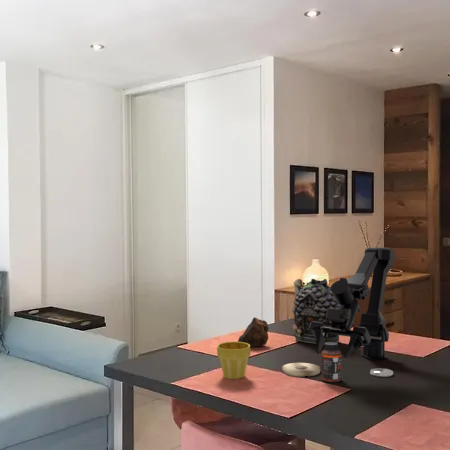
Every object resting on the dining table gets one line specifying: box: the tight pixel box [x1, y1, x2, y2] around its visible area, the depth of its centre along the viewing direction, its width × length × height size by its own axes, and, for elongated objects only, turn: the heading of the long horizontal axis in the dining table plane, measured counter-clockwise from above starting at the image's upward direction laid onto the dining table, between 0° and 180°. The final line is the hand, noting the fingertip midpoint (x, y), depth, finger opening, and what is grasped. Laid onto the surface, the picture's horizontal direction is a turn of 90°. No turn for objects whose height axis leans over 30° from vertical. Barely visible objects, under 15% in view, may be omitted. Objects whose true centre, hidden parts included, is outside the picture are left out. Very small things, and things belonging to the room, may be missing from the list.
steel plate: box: [369, 367, 394, 378], centre depth 182 cm, size 7×7×1 cm
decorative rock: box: [237, 317, 269, 348], centre depth 220 cm, size 12×6×11 cm, turn 103°
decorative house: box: [291, 278, 340, 346], centre depth 228 cm, size 21×15×25 cm
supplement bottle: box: [321, 342, 343, 383], centre depth 175 cm, size 6×6×11 cm
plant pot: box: [216, 341, 251, 380], centre depth 180 cm, size 10×10×10 cm
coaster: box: [281, 362, 321, 378], centre depth 185 cm, size 12×12×1 cm
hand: (330, 355), depth 175 cm, fingers open, 9 cm apart
